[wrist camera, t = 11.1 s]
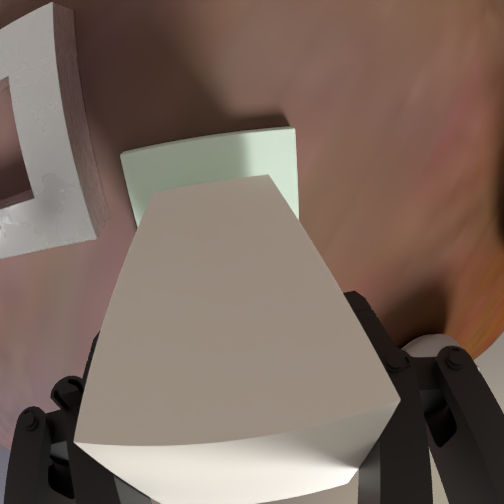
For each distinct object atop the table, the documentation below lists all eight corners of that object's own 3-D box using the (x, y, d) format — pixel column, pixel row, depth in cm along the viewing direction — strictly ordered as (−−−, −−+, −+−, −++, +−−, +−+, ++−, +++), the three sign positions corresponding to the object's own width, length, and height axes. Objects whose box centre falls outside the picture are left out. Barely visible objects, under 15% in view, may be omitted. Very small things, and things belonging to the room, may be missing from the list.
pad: (160, 286, 22) (158, 295, 21) (124, 151, 16) (119, 155, 16) (296, 266, 22) (299, 273, 22) (290, 126, 17) (294, 128, 16)
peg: (177, 285, 18) (170, 508, 7) (153, 191, 15) (73, 442, 4) (275, 270, 19) (347, 483, 8) (268, 174, 16) (400, 399, 4)
